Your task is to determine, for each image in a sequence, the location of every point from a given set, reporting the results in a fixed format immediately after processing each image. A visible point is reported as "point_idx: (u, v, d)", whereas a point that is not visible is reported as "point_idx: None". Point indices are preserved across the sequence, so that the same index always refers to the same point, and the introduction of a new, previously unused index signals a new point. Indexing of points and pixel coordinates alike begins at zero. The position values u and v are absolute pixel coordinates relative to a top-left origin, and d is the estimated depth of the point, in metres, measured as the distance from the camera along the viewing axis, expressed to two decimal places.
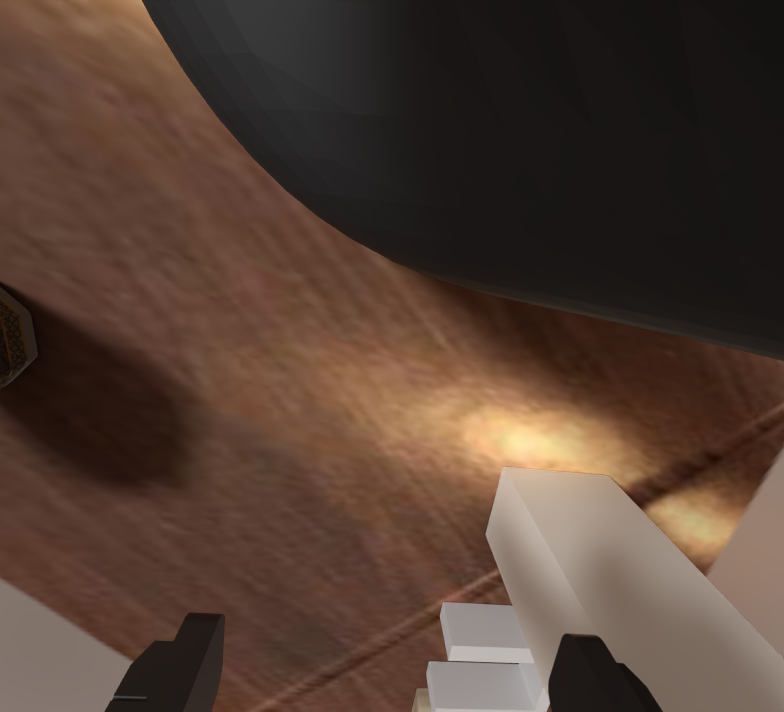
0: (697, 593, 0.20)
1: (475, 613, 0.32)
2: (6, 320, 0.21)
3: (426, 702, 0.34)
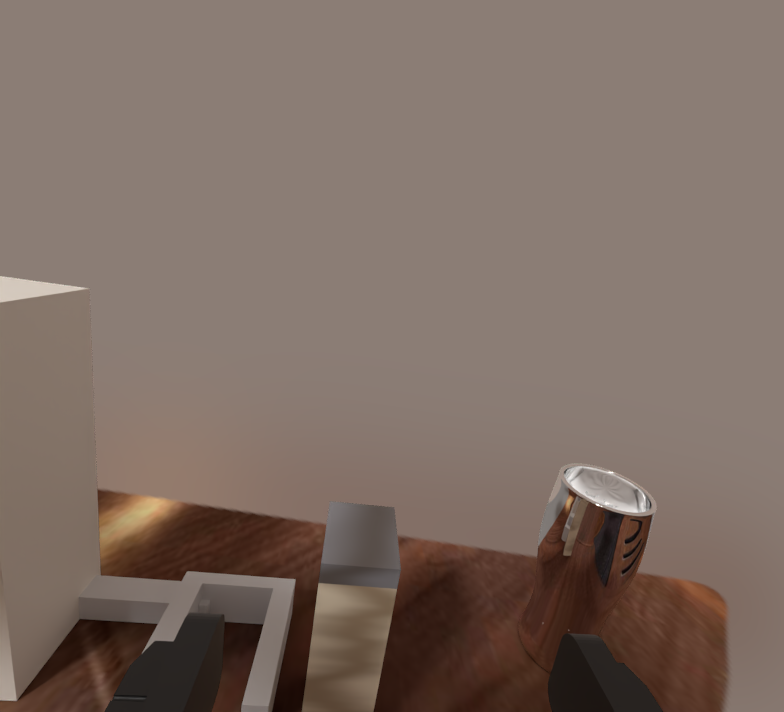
0: None
1: None
2: None
3: None
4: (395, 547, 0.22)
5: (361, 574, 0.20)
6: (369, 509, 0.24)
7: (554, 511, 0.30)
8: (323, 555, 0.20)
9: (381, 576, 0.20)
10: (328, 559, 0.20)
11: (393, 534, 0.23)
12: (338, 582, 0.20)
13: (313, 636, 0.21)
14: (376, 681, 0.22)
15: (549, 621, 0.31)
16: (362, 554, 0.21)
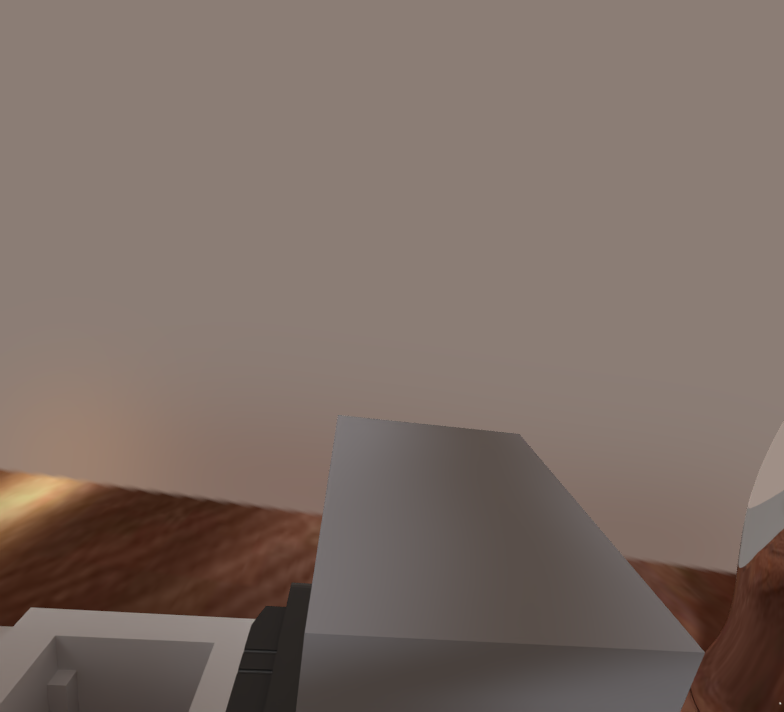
0: None
1: None
2: None
3: None
4: (602, 544, 0.06)
5: (510, 683, 0.04)
6: (456, 436, 0.08)
7: None
8: (317, 586, 0.04)
9: (610, 688, 0.04)
10: (343, 607, 0.04)
11: (563, 500, 0.06)
12: None
13: None
14: None
15: None
16: (493, 576, 0.05)
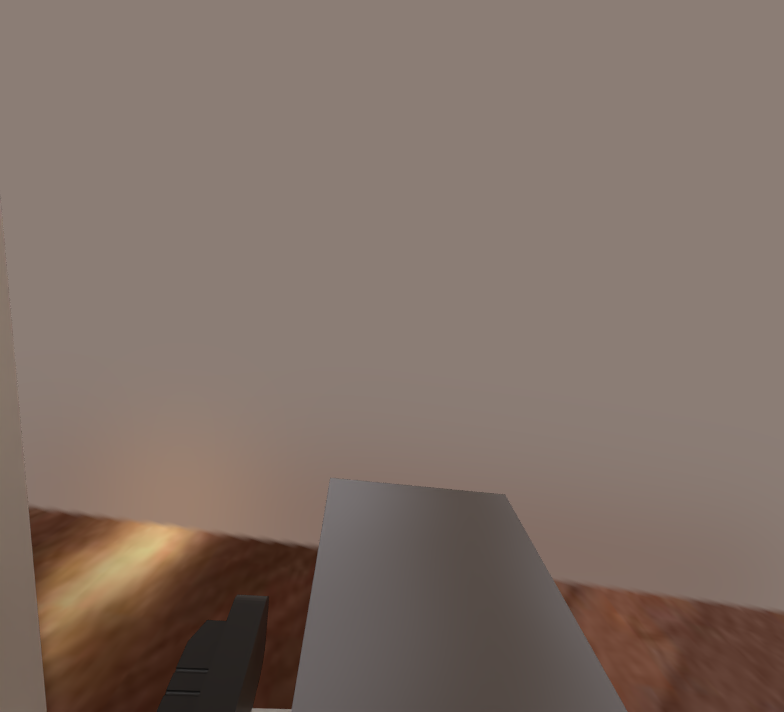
0: None
1: None
2: None
3: None
4: (572, 632, 0.06)
5: None
6: (443, 500, 0.09)
7: None
8: (299, 694, 0.05)
9: None
10: None
11: (540, 578, 0.07)
12: None
13: None
14: None
15: None
16: (464, 676, 0.05)
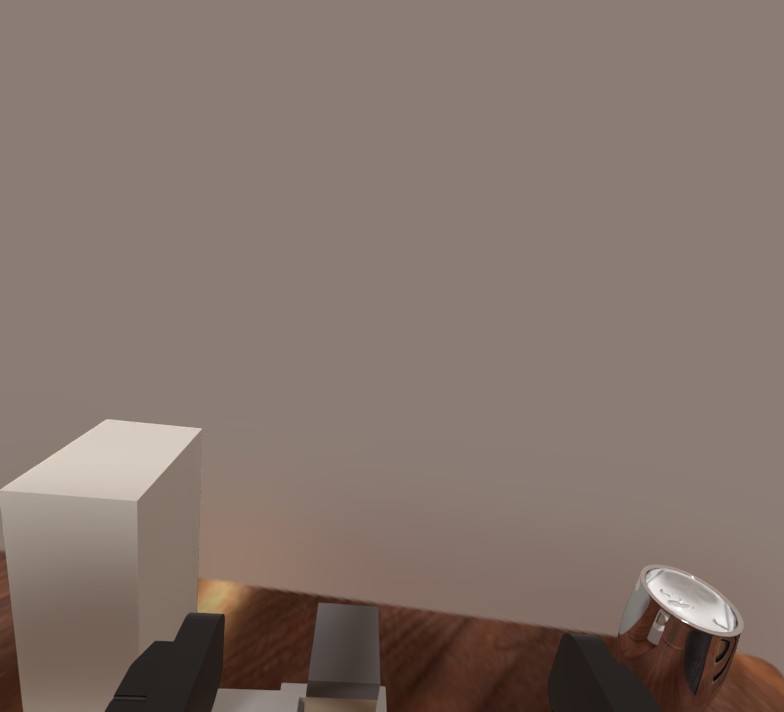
0: None
1: None
2: None
3: None
4: (376, 656, 0.24)
5: (344, 688, 0.22)
6: (355, 611, 0.26)
7: (639, 620, 0.31)
8: (310, 670, 0.22)
9: (363, 690, 0.22)
10: (314, 675, 0.22)
11: (375, 640, 0.25)
12: (323, 695, 0.22)
13: None
14: None
15: None
16: (346, 667, 0.23)
